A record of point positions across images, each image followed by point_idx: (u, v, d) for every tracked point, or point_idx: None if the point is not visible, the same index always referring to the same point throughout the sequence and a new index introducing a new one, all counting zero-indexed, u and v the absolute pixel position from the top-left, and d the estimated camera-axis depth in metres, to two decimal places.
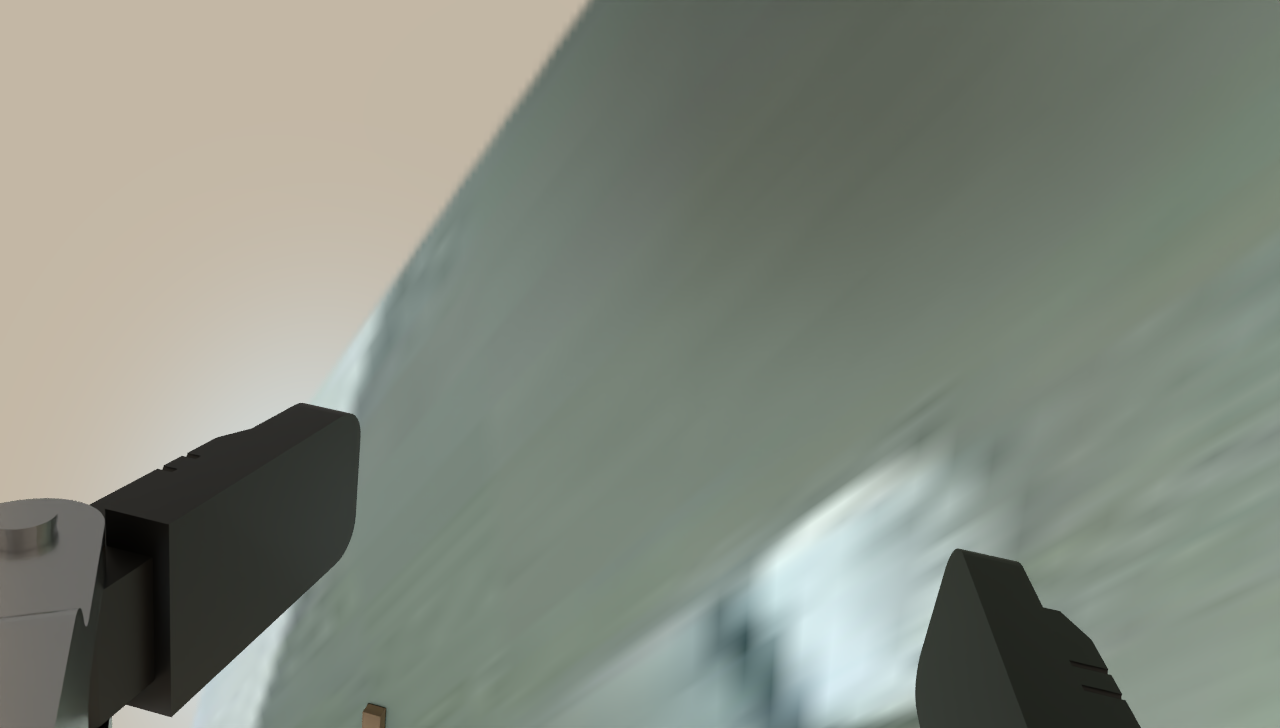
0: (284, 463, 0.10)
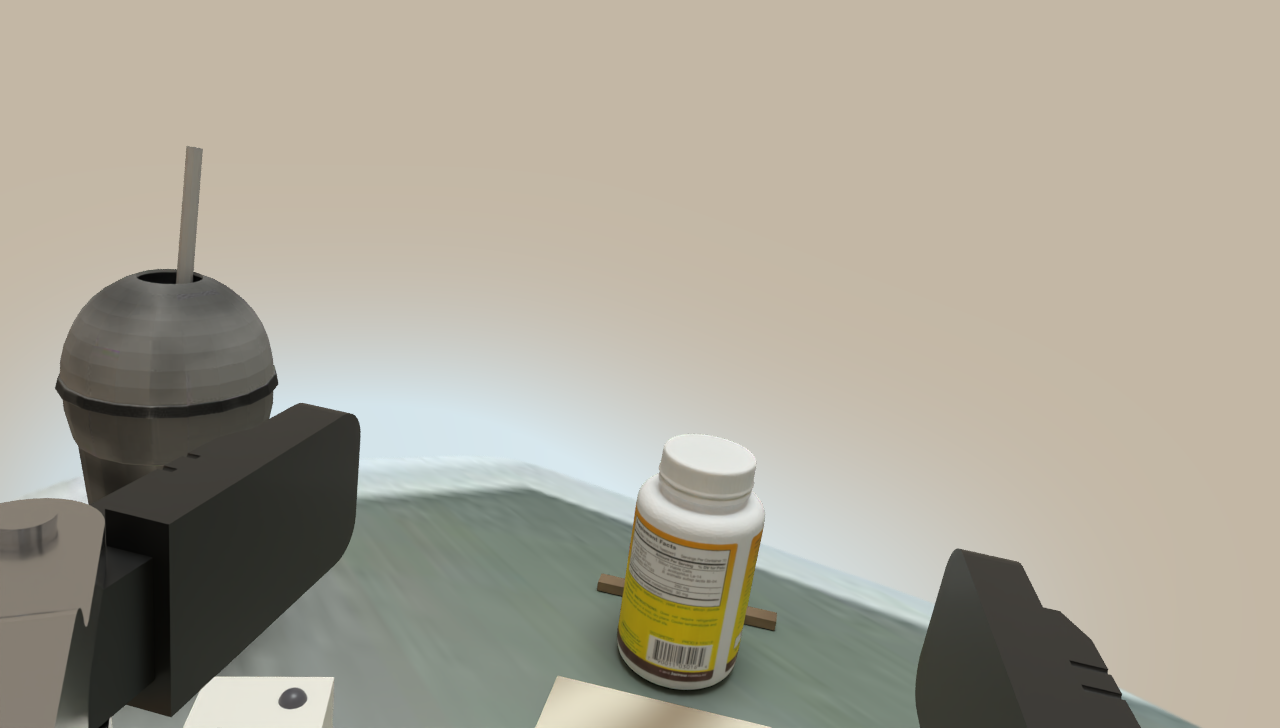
0: (284, 463, 0.10)
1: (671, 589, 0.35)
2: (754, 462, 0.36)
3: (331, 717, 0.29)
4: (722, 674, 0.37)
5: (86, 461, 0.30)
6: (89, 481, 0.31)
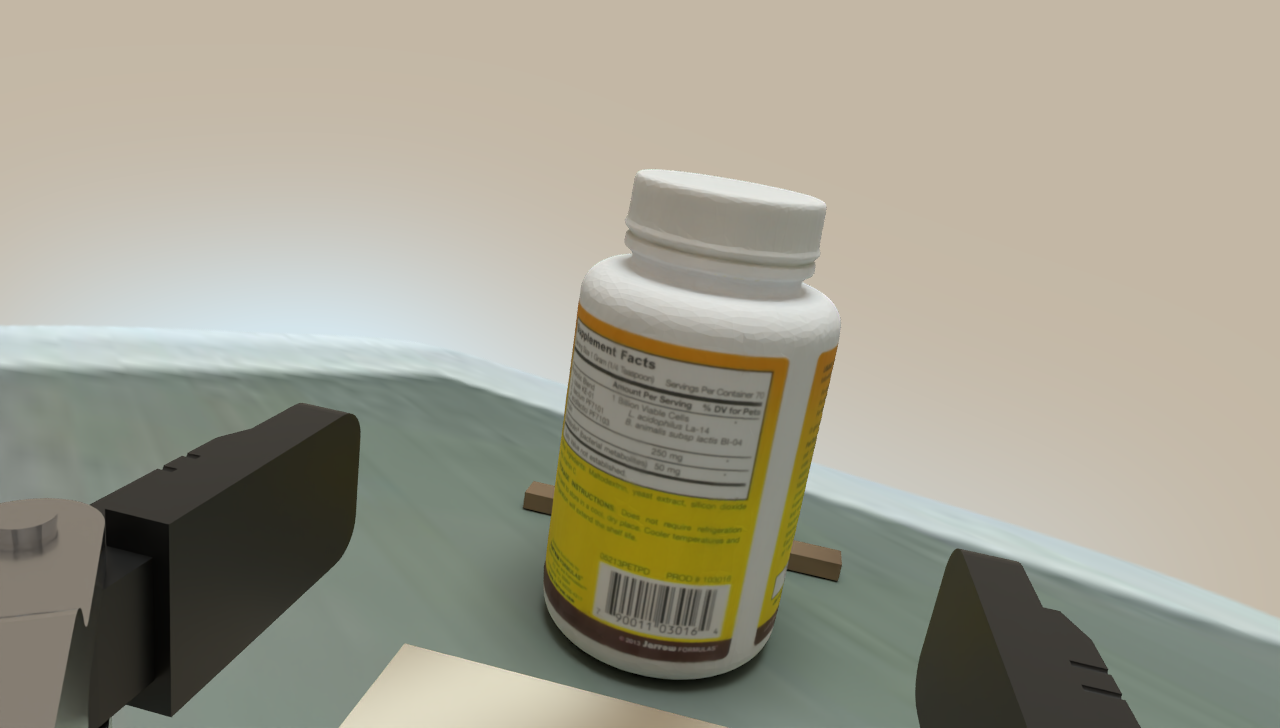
0: (284, 463, 0.10)
1: (645, 460, 0.16)
2: (823, 202, 0.17)
3: None
4: (748, 649, 0.18)
5: None
6: None
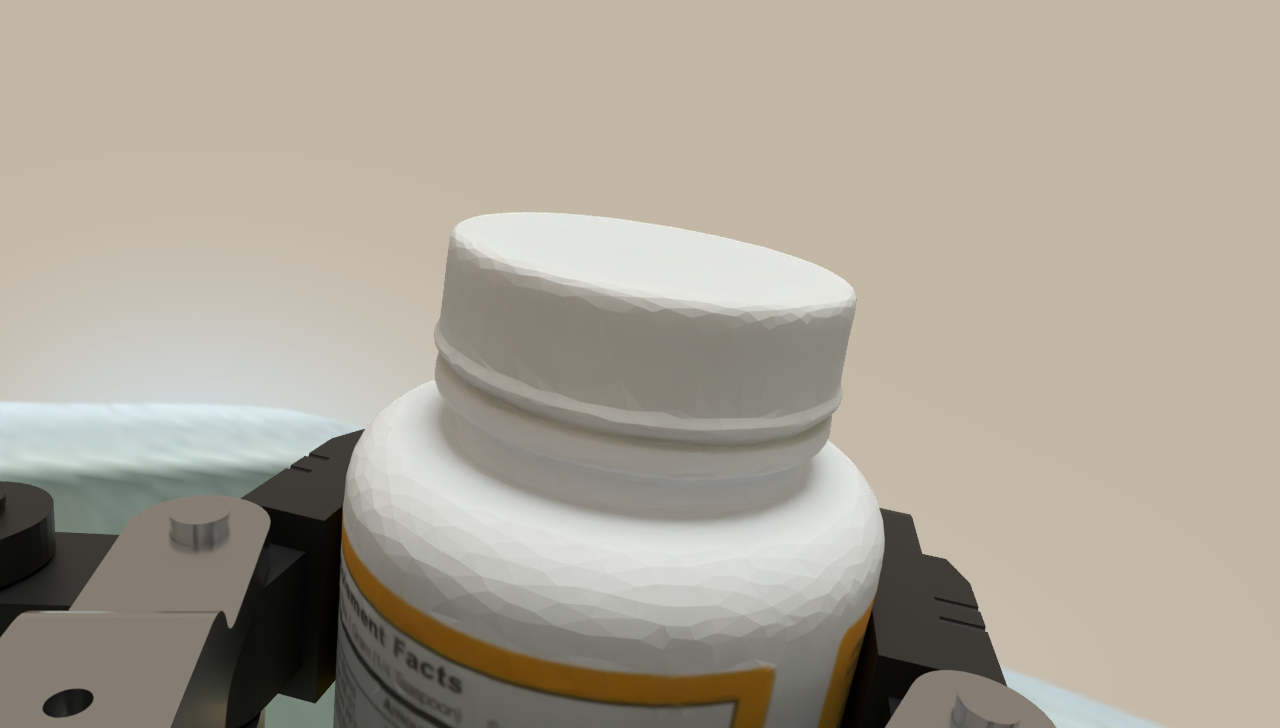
0: None
1: None
2: (849, 290, 0.08)
3: None
4: None
5: None
6: None
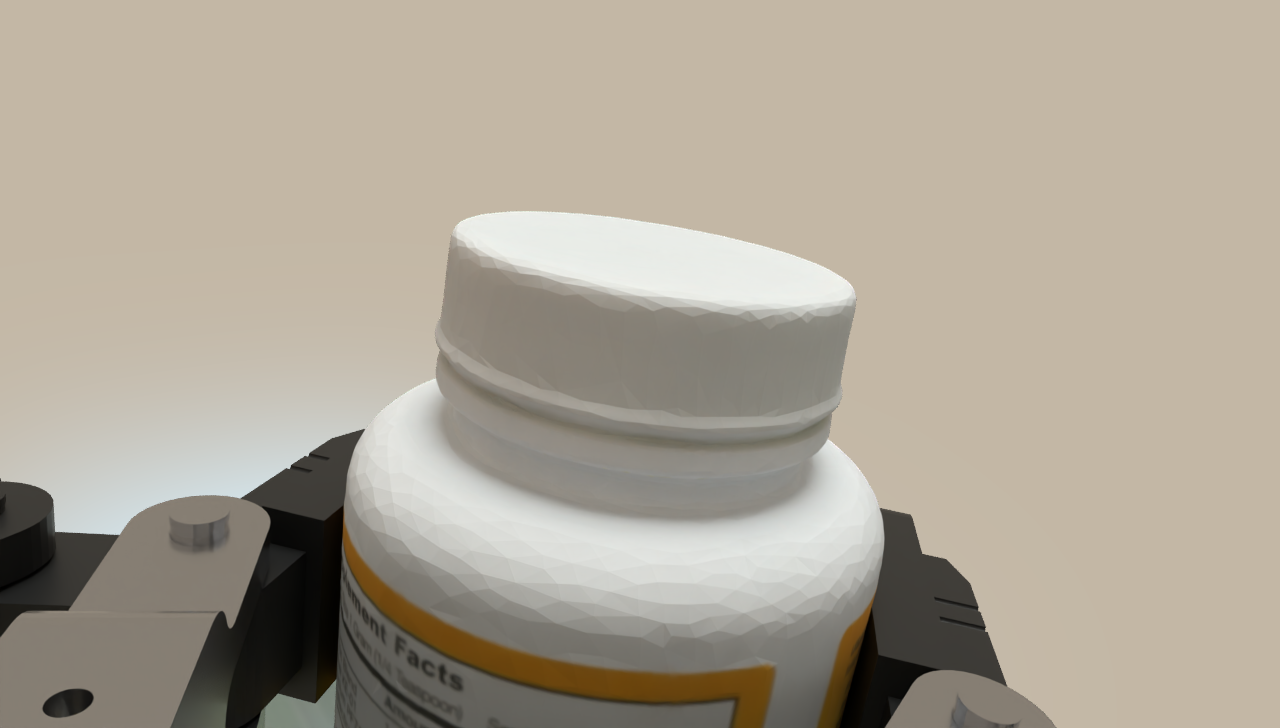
0: None
1: None
2: (849, 289, 0.08)
3: None
4: None
5: None
6: None
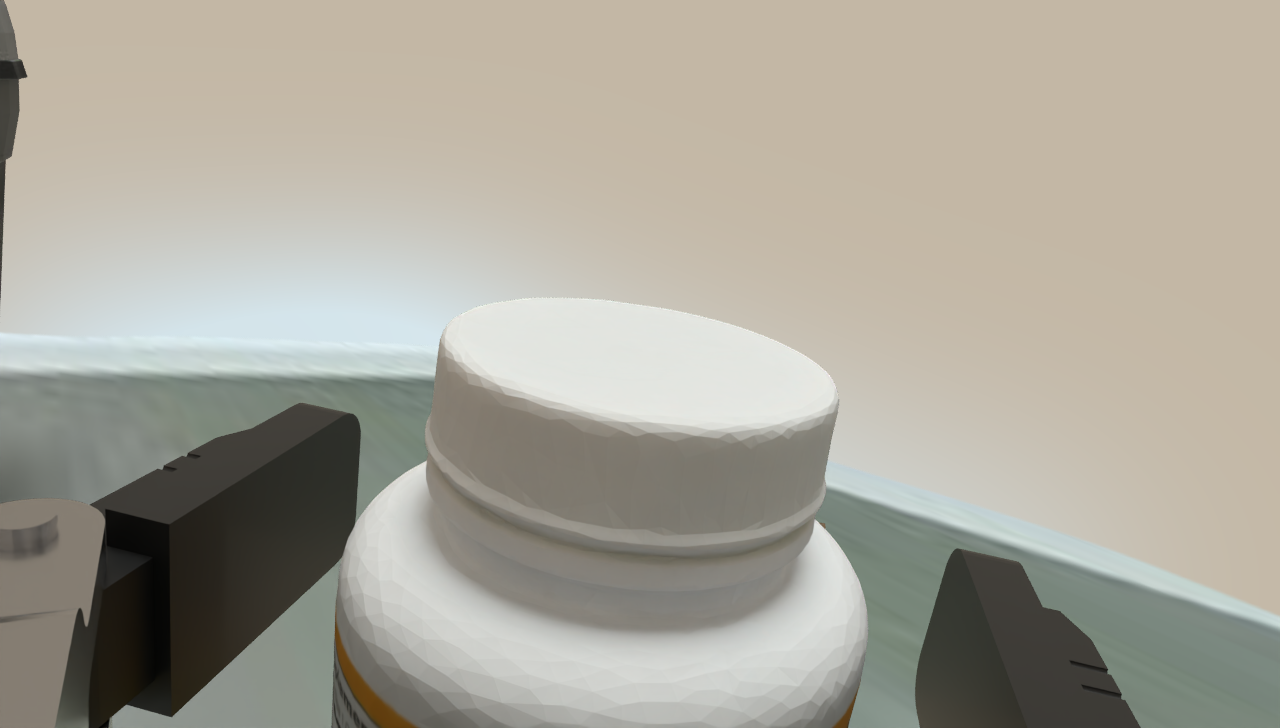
0: (284, 463, 0.10)
1: None
2: (832, 390, 0.08)
3: None
4: None
5: None
6: None
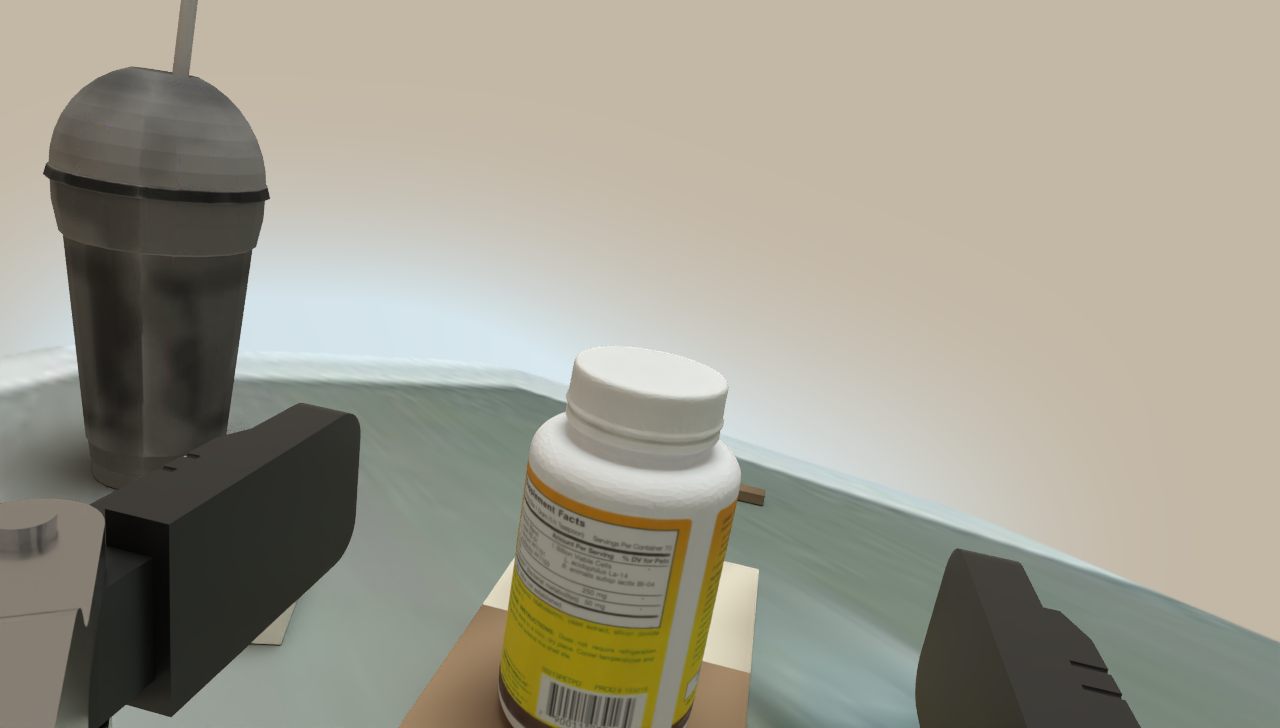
0: (284, 463, 0.10)
1: (577, 597, 0.20)
2: (724, 386, 0.21)
3: None
4: None
5: (71, 251, 0.30)
6: (73, 274, 0.30)
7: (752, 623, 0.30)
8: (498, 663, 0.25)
